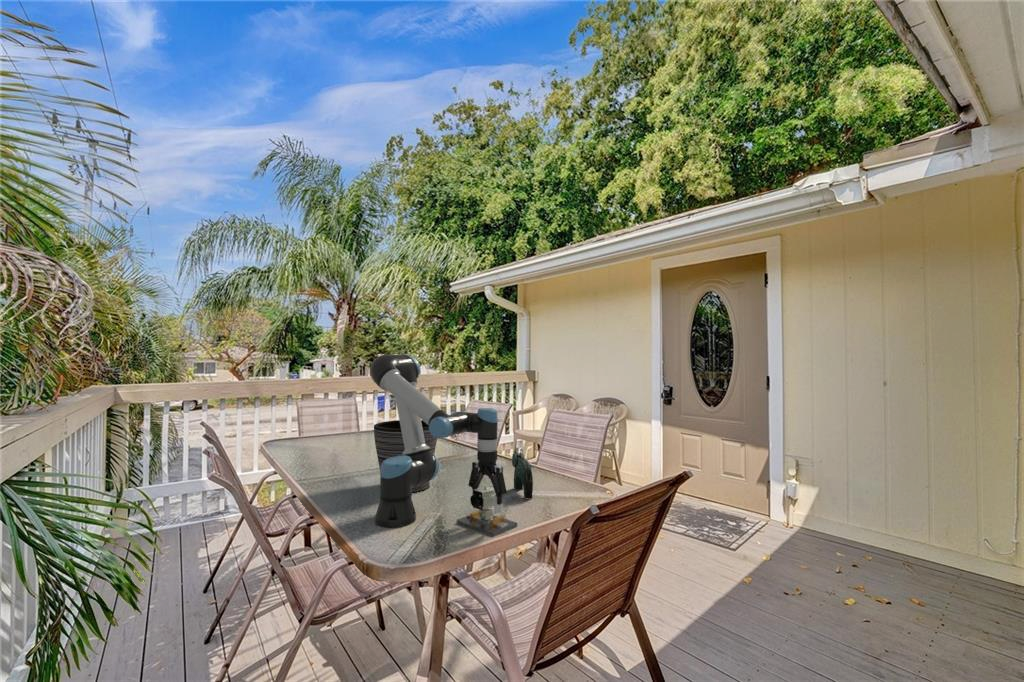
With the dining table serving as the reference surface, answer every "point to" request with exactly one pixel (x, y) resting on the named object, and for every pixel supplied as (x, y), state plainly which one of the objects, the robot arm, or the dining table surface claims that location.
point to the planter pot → (398, 443)
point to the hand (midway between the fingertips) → (486, 509)
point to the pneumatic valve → (483, 501)
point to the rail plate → (487, 523)
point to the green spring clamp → (522, 474)
